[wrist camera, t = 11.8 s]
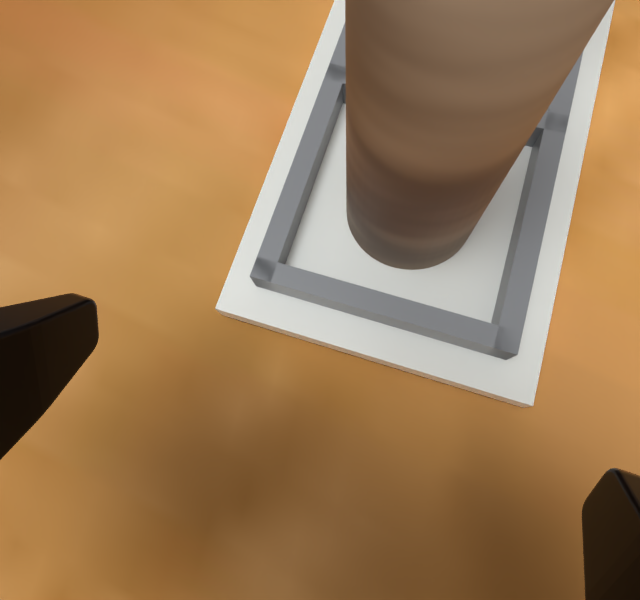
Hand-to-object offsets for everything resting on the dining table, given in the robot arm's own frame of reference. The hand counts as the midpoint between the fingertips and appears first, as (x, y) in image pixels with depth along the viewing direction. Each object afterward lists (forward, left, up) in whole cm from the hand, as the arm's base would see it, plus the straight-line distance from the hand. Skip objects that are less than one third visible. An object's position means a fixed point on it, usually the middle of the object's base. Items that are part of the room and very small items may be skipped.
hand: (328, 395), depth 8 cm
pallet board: (+6, -11, -10) cm, 16 cm away
